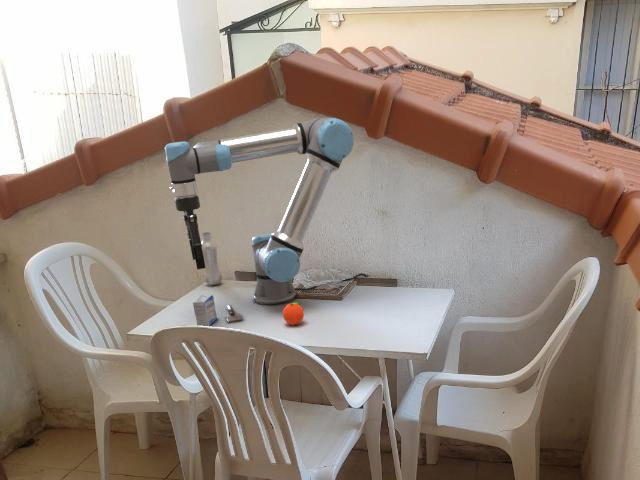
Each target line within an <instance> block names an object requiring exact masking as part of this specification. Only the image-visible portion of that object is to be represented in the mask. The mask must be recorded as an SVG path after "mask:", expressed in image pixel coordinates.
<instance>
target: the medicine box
mask: <svg viewBox="0 0 640 480" xmlns="http://www.w3.org/2000/svg"><path fill="white" fill-rule="evenodd" d="M214 298H215V297H214V295H213V294H202V295H200V296H199V297H198V298H197V299H196V300H194V301H193V302H192V306H193V311H194V316H195V321H196V326H197V325H203V326H209V327H211V326H212V325H213V323H214V322H216V320H217V319H218V316H217V315H218V314H217V310H216V305H215V299H214Z"/></svg>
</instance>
